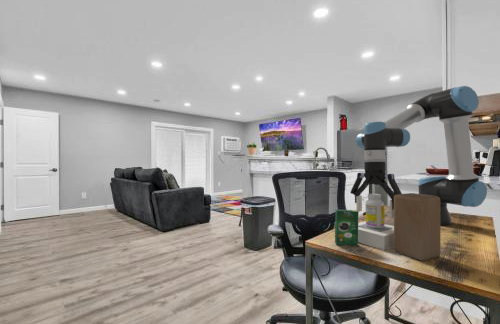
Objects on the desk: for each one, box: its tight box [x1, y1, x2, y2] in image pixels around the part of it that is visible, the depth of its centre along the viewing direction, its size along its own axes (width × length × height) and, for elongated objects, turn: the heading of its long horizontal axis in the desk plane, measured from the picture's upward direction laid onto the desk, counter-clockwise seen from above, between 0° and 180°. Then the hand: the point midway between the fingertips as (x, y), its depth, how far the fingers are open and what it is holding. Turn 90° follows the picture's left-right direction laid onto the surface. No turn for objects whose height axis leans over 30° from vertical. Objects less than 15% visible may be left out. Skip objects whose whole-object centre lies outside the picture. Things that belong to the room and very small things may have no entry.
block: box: [393, 192, 441, 262], centre depth 82 cm, size 10×10×20 cm
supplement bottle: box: [365, 193, 385, 228], centre depth 97 cm, size 7×7×13 cm
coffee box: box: [334, 209, 360, 247], centre depth 92 cm, size 8×3×13 cm, turn 82°
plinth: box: [358, 220, 394, 251], centre depth 97 cm, size 16×16×5 cm
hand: (374, 214), depth 97 cm, fingers open, 13 cm apart
